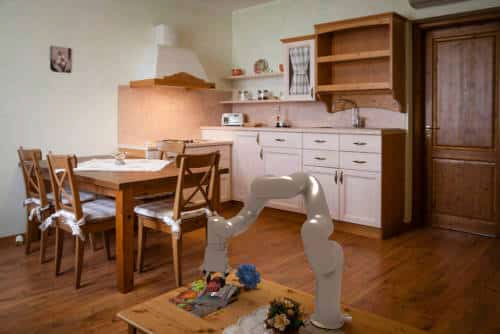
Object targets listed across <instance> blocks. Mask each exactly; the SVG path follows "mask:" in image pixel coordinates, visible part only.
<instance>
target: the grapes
mask: <svg viewBox="0 0 500 334" xmlns="http://www.w3.org/2000/svg"><path fill="white" fill-rule="evenodd" d="M236 269H237V271H235V276H236V278H238V279H237V281H238V283H239V285H243V286H244V288H245V289H250V288H252V289H256V288H257V287H258V285H259V284H261V283H262V281H261V278H260V277H261V272H260V271H259V270H257V268H256V266H255V265H254V264H250V265H249V263H248V262H243V263H242V265H240V264H239V265H237V267H236Z"/></svg>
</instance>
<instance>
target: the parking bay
mask: <svg viewBox="0 0 500 334" xmlns="http://www.w3.org/2000/svg"><path fill="white" fill-rule="evenodd" d="M205 285H206V284H205ZM205 285H204V287H203V288H202V289H203V290H202V289H201V290H202V291H201V290H200V291H201V292H198V294H197V295H196V297H194V299H193V300H192V303H200V304H210V305H216V306H219V308H226V307H227V305H228V303H229V302H230V300H231V299H230V297H229V298H226V297H227V296H228V294H229V292H230V290H231V289H232V287H233V286H235V287H237V288H238V285H236V284H235V283H234V282H227V281H226V284H225V285H224V286H229V287H228V288H227V290H226V291H225V293H224V294H223V296H222V297H219V296H215V295H214V296H211V295H209V294H207V293H206V287H207V285H206V286H205ZM229 299H230V300H229ZM228 301H229V302H228ZM216 306H215V307H216Z"/></svg>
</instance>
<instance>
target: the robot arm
mask: <svg viewBox="0 0 500 334" xmlns="http://www.w3.org/2000/svg"><path fill="white" fill-rule="evenodd" d="M249 189H250V191H249V192H248V193H247V194H246V195H245V196H244V198H243V200H242V201H243V205H244V206H243V208H241V210H240V211H239V212H238V214H236V216H234V217H231V218H229V219H225V217H223V216H219V215H218V216H216V215H214V216H210V217H209V218H208V220H207V247H206V248H205V251H204V259H203V263H202V264H201V265H200V266H199V268H198V269H199V270H200V272H202V274H203V275H204V276H205V278H206V279H205V283H206V284H207V285H208V284H209V283H210V282H209V281H211V280H212V276H211V272H213V273H220V276H222V279H221V288H223V287H224V285H225V284H226V282H227V281H226V279H227V277H229V276H230V274H232V273H233V271H234V269H233V268H232V267H231V266H230V264H229V263H230V262H229V253H228V248H227V247H229V243H227V242H226V239H233V238H235V237H237V236H238V235H241V234H242V233H243V234H244V233H245V232H246V231H247V230H248V229H249V228H250V227H251V225H252V224H253V223H254V222H255V221H256V220H257V218H258V216H259V215H260V213H261V211H262V210H263V209H264V208H265V207H266V205H268V203H269V202H270V201H271V200H290V199H293V198H296V197H298V196H300V195H301V196H302V197H303V206H304V211H305V213H306V218H307V219H306V220H305V222H304V223H303V224H302V227H301V231H300V232H301V239H302V245H303V248H304V251H305V255H306V258H307V262H308V264H309V266H310V269H312V271H314V272H315V283H314V284H315V287H314V288H315V289H314V311H313V314H311V315H310V316H309V321H310V320H314V321H317V322H319V323H321V324H323V325H324V326H325V327H327V328H331V329H332V330H337V329H340V328H342V327H343V326H344V322H351V323H352V319H353V317H352V316H350V315H349V314H348V313H343V312H342V311H341V292H342V290H341V288H342V273H343V265H344V259H345V258H344V256H345V255H344V254H345V253H344V248H342V246H341V244H340V243H339V242H337V241H335V240H331V239H330V240H329V237H330V236H331V235H333V232H334V229H335V228H334V223H333V220H332V215H331V212H330V209H329V205H328V203H327V198H326V195H325V192H324V188H323V185H322V183H321V182H320V180H319V179H318V178H316V177H315V175H312V174H311V173H309V172H303V171H301V172H300V171H299V172H293V173H290V174H288V175H282V176H276V175H275V174H270V173H268V174H263V175H260V176H257V177H256V178H254V179H253V181H252V182H251V184H250V188H249ZM227 270H228V271H227Z"/></svg>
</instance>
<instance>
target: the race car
mask: <svg viewBox="0 0 500 334" xmlns="http://www.w3.org/2000/svg"><path fill="white" fill-rule="evenodd" d="M221 279H222V275H215V276H214V277H213V278H211V281H209V282H210V283H209V284H208V285H207V287H206V291H208V292H218V291H219V290H220V288H221Z"/></svg>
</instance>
